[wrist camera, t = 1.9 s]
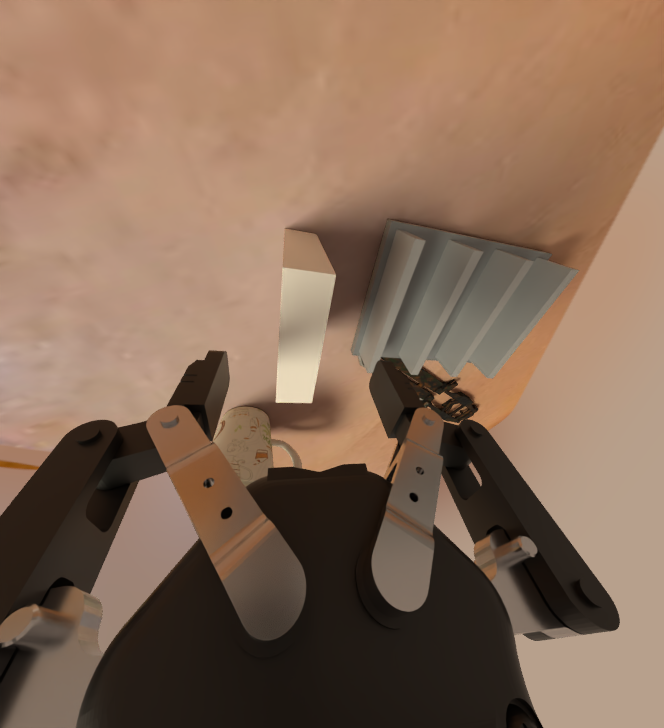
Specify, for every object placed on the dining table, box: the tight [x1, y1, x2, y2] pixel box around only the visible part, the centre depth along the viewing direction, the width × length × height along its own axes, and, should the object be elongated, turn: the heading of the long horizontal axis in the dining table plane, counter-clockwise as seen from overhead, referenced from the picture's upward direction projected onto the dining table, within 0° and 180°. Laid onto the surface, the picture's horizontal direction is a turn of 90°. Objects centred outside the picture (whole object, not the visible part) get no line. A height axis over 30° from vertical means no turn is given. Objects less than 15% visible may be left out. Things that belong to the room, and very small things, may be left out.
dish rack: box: [351, 219, 579, 378], centre depth 23 cm, size 16×13×4 cm
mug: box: [212, 407, 302, 487], centre depth 29 cm, size 8×13×10 cm, turn 57°
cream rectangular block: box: [276, 229, 336, 403], centre depth 17 cm, size 2×9×10 cm, turn 170°
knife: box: [358, 356, 478, 423], centre depth 32 cm, size 25×6×1 cm, turn 46°
